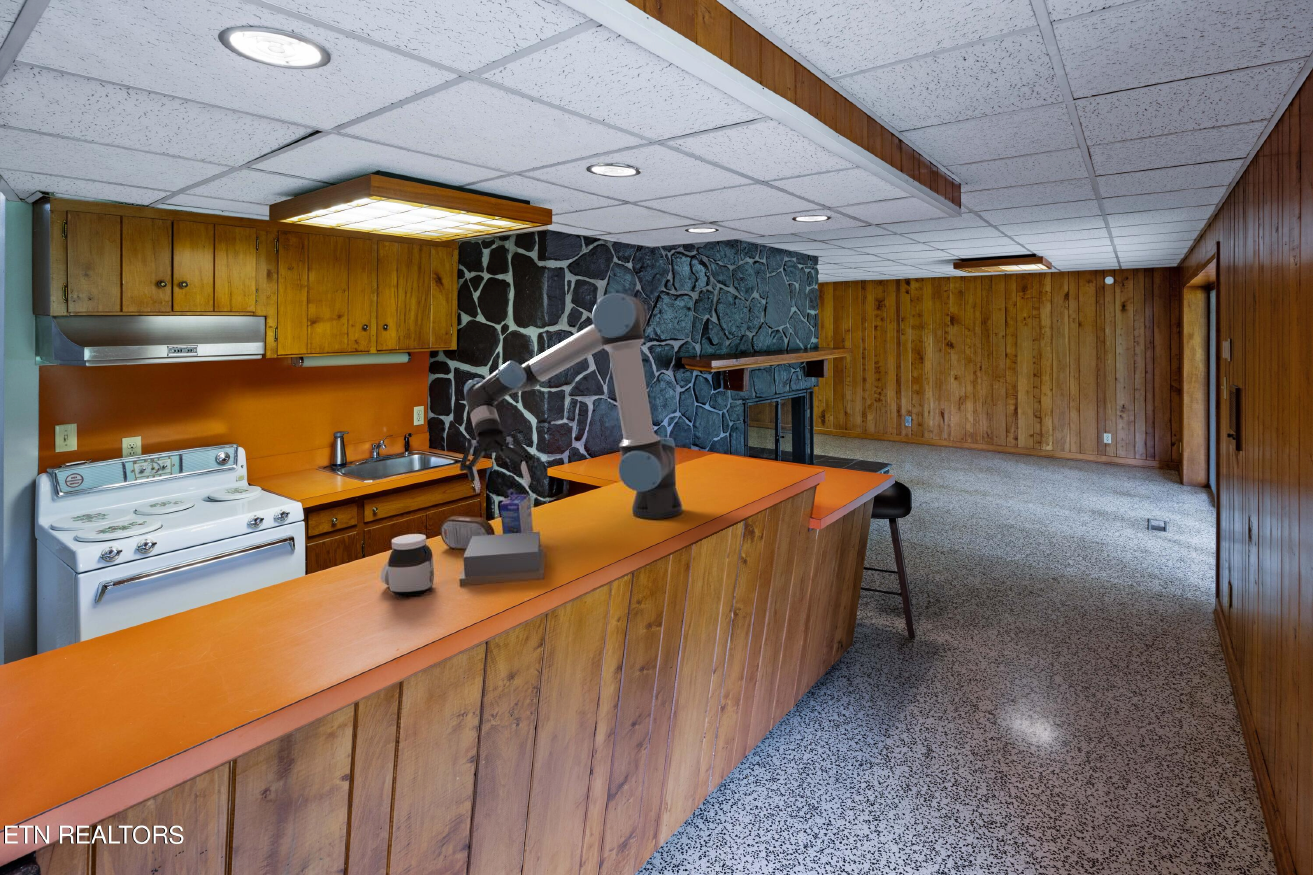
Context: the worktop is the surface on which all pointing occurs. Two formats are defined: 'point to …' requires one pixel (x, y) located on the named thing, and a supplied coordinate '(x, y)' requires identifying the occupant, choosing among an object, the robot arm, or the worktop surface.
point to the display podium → (503, 558)
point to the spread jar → (409, 566)
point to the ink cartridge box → (516, 514)
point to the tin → (463, 530)
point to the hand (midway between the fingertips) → (504, 486)
